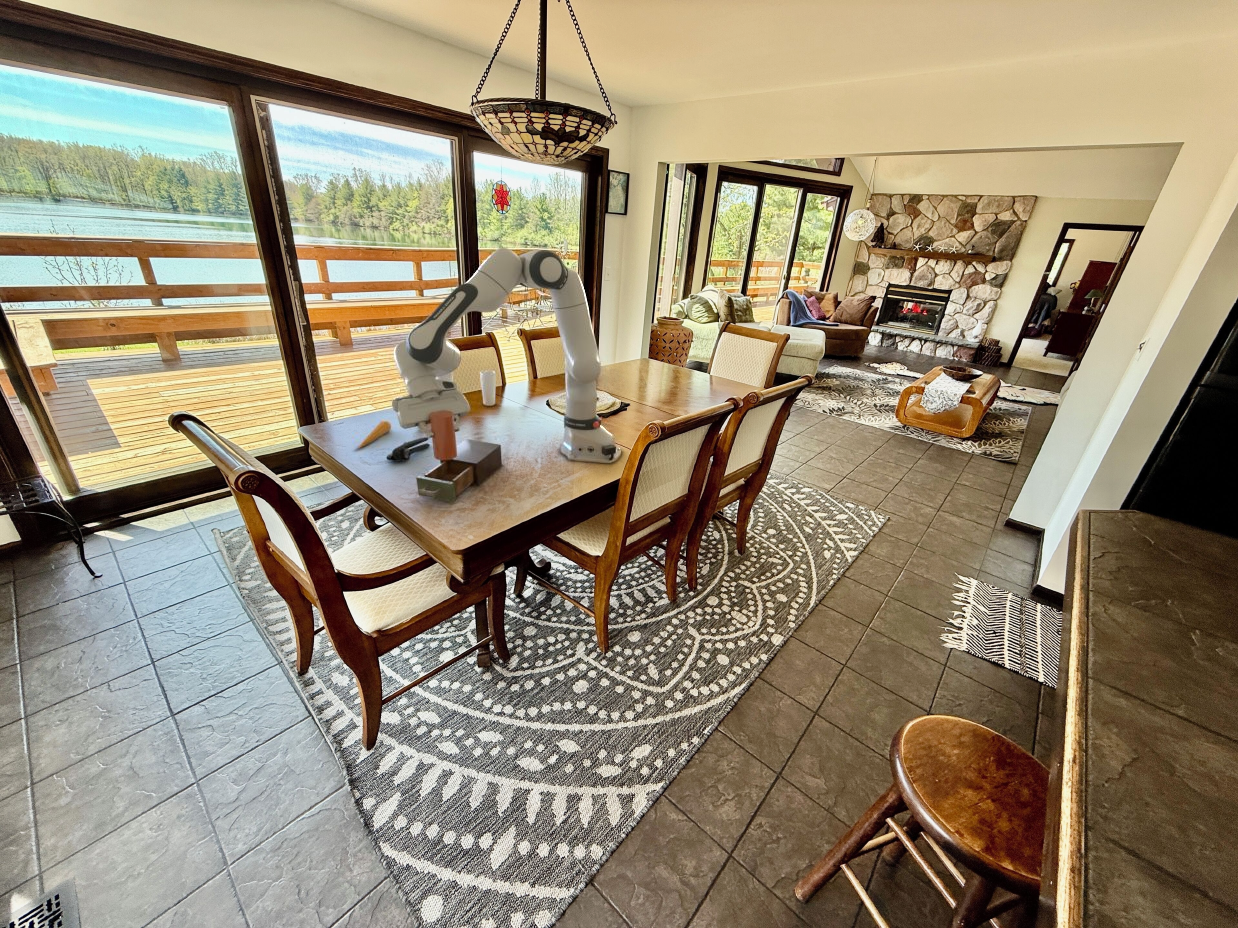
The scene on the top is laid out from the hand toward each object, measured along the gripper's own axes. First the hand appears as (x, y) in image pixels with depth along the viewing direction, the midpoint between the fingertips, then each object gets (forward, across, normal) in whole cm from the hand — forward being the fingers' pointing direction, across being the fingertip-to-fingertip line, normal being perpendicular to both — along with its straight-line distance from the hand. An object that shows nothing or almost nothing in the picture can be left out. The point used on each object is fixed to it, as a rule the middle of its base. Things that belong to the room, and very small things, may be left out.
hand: (444, 433), depth 138 cm
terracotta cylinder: (+5, 0, +6) cm, 7 cm away
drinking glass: (-32, +51, +60) cm, 85 cm away
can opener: (-9, +2, +36) cm, 38 cm away
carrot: (-24, -4, +51) cm, 57 cm away
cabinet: (+8, +12, +19) cm, 24 cm away
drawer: (+13, -1, +13) cm, 18 cm away
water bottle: (-28, +28, +55) cm, 68 cm away
